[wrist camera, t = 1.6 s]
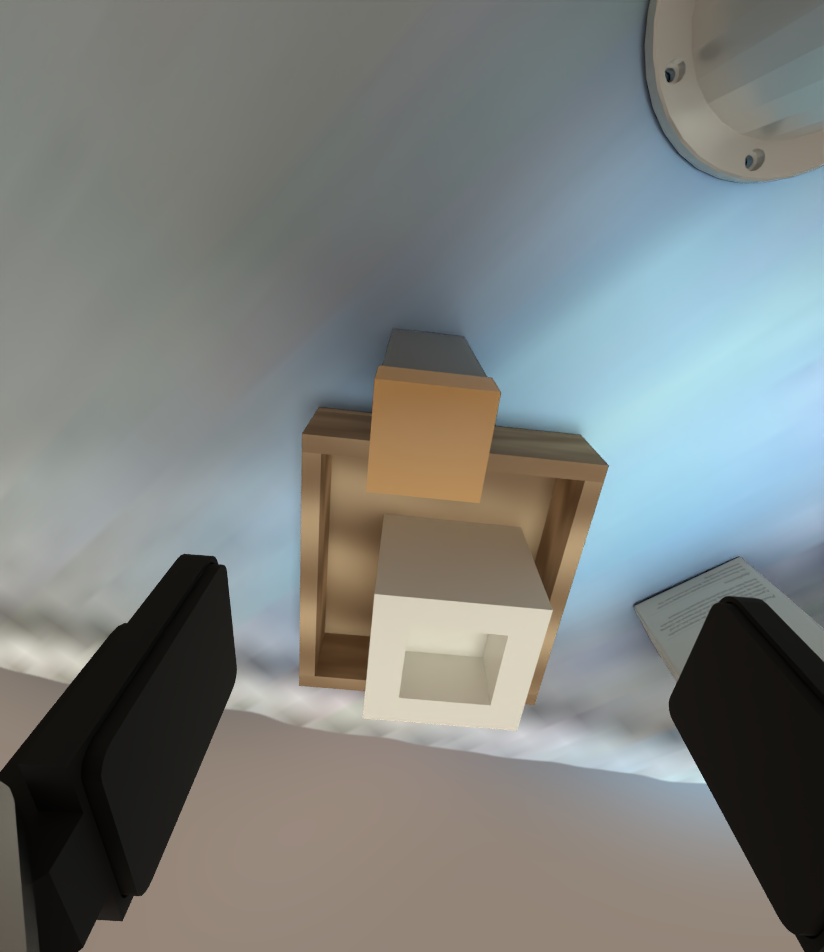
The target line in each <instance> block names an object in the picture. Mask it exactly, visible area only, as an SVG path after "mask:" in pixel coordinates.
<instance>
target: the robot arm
mask: <svg viewBox="0 0 824 952" xmlns="http://www.w3.org/2000/svg"><path fill="white" fill-rule="evenodd" d="M645 63H646V80H647V84H648V88H649V93H650V97H651V101H652V106H653V109H654V112H655V114H656V116H657V118H658V120H659V123H660V125H661V127H662V129H663V132H664V134H665V135H666V136H667V138H668V139H669V140H670V142H671V143H672V144H673V146H674V147H675V148H676V150H677V151H678V152H679V154H680V155H682V156H683V157H684V158H685V159H686V160H688V161H689V162H690V163H691V164H693V165H694V166H695V167H696V168H697V169H699V170H701V171H704V172H706V173H708V174H710V175H712V176H714V177H716V178H719V179H723V180H729V181H734V182H739V183H757V182H770V181H775V180H779V179H785V178H790V177H794V176H797V175H800V174H803V173H805V172H808V171H811V170H814V169H817V168H820V167H821V166H823V165H824V0H650V5H649V9H648V16H647V26H646V37H645ZM665 71H667V72H669V73H670V81H669V82H667V80H666V78H665ZM746 158H747V165H746V166H745V159H746ZM236 673H237V665H236V655H235V646H234V636H233V626H232V616H231V607H230V597H229V587H228V578H227V570H226V567H225V565H218V562H217V559H216V558H215V557H214V556H204V555H191V554H183V555H181V556H180V557H179V558H178V559H177V560H176V561H175V563H174V564H173V565H172V566H171V568H170V569H169V570H168V572H167V573H166V574H165V575H164V577H163V578H162V579H161V581H160V582H159V583H158V584H157V586H156V587H155V588H154V590H153V591H152V592H151V593H150V595H149V596H148V597H147V599H146V600H145V601H144V602H143V604H142V605H141V606H140V608H139V609H138V610H137V611H136V613H135V614H134V615H133V617H132V618H131V619H130V620H129V622H128V623H124V624H122V625H120V626H118V627H117V628H116V629H115V630H114V631H113V632H112V633H111V634H110V635H109V637H108V638H107V639H106V640H105V642H104V643H103V644H102V645H101V647H100V648H99V649H98V650H97V652H96V653H95V654H94V655H93V657H92V658H91V659H90V660H89V662H88V663H87V664H86V665H85V667H84V668H83V669H82V670H81V672H80V673H79V674H78V675H77V677H76V678H75V679H74V680H73V682H72V683H71V684H70V685H69V687H68V688H67V689H66V690H65V692H64V693H63V694H62V695H61V697H60V698H59V699H58V700H57V702H56V703H55V704H54V705H53V707H52V708H51V709H50V710H49V712H48V713H47V714H46V715H45V717H44V718H43V719H42V720H41V722H40V723H39V724H38V725H37V727H36V728H35V729H34V730H33V732H32V733H31V734H30V736H29V737H28V738H27V739H26V740H25V742H24V743H23V744H22V745H21V747H20V748H19V749H18V750H17V752H16V753H15V754H14V755H13V757H12V758H11V759H10V760H9V762H8V763H7V764H6V765H5V767H4V768H3V769H2V770H1V772H0V952H78V951H79V950H81V949H82V948H83V947H84V945H85V942H86V940H87V938H88V936H89V934H90V932H91V930H92V928H93V926H94V924H95V922H96V920H110V921H123V919H124V916H125V914H126V912H127V910H128V907H129V905H130V903H131V900H132V898H133V896H142V895H143V894H144V893H145V892H146V890H147V888H148V887H149V885H150V883H151V881H152V879H153V876H154V874H155V871H156V869H157V867H158V864H159V862H160V860H161V857H162V855H163V853H164V850H165V848H166V846H167V843H168V841H169V838H170V836H171V834H172V831H173V829H174V826H175V824H176V822H177V820H178V817H179V815H180V812H181V810H182V808H183V805H184V803H185V801H186V798H187V796H188V794H189V791H190V789H191V786H192V784H193V782H194V779H195V777H196V775H197V772H198V770H199V767H200V765H201V763H202V760H203V758H204V756H205V753H206V751H207V749H208V746H209V744H210V741H211V739H212V736H213V734H214V732H215V730H216V727H217V725H218V722H219V720H220V718H221V715H222V713H223V711H224V708H225V706H226V704H227V701H228V699H229V697H230V694H231V692H232V689H233V687H234V683H235V679H236ZM669 711H670V715H671V718H672V720H673V722H674V724H675V726H676V727H677V729H678V731H679V733H680V735H681V737H682V739H683V741H684V742H685V744H686V746H687V748H688V750H689V752H690V754H691V755H692V757H693V759H694V761H695V763H696V765H697V767H698V768H699V770H700V772H701V774H702V776H703V778H704V780H705V781H706V783H707V785H708V787H709V789H710V791H711V792H712V794H713V796H714V798H715V800H716V802H717V804H718V805H719V807H720V809H721V811H722V813H723V815H724V817H725V819H726V821H727V822H728V824H729V826H730V828H731V830H732V832H733V833H734V835H735V837H736V839H737V841H738V843H739V845H740V846H741V848H742V850H743V852H744V854H745V856H746V858H747V860H748V861H749V863H750V865H751V867H752V869H753V871H754V873H755V875H756V876H757V878H758V880H759V882H760V884H761V886H762V887H763V889H764V891H765V893H766V895H767V897H768V899H769V901H770V902H771V904H772V906H773V908H774V910H775V912H776V914H777V915H778V917H779V919H780V920H781V922H782V924H783V925H784V926H785V927H786V928H787V929H788V930H789V931H790V932H792V933H793V934H795V935H796V937H797V939H798V941H799V943H800V944H801V946H802V948H803V950H804V952H824V661H823V660H822V659H821V658H820V657H819V656H818V655H817V654H816V653H815V652H814V651H813V650H812V649H811V648H810V647H809V646H808V645H807V644H806V643H805V642H804V641H803V640H802V639H801V638H800V637H799V636H798V635H797V634H796V633H795V632H794V631H793V630H792V629H791V628H790V627H789V626H788V625H787V624H786V623H785V622H784V621H783V620H782V618H781V617H780V616H779V615H778V614H777V613H776V612H775V611H774V610H773V609H772V608H771V607H770V606H769V605H768V604H767V603H766V602H764V601H763V600H761V599H758V598H750V597H737V596H725V597H723V598H722V599H721V600H720V601H719V603H715V604H714V605H713V606H712V607H711V609H710V611H709V613H708V615H707V618H706V620H705V622H704V624H703V626H702V629H701V631H700V633H699V635H698V637H697V640H696V642H695V644H694V646H693V648H692V651H691V653H690V655H689V657H688V659H687V661H686V664H685V666H684V668H683V670H682V672H681V675H680V677H679V679H678V681H677V683H676V686H675V688H674V690H673V692H672V694H671V697H670V700H669Z"/></svg>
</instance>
